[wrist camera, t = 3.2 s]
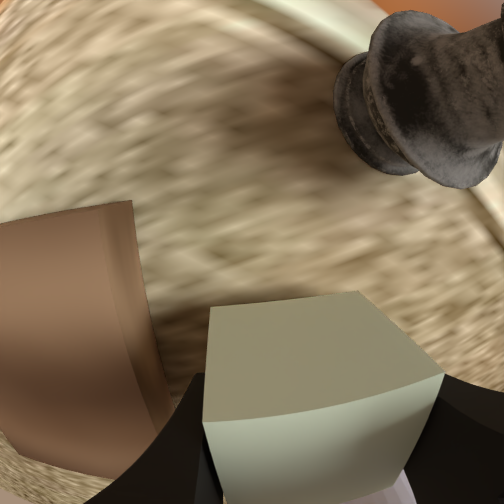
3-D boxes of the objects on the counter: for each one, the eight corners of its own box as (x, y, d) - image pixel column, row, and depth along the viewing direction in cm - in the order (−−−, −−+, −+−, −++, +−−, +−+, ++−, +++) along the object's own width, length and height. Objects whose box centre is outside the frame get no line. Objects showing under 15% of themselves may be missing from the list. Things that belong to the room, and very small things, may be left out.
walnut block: (186, 441, 13) (182, 485, 10) (36, 423, 12) (19, 454, 9) (131, 200, 10) (97, 209, 7) (-36, 232, 9) (-75, 246, 6)
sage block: (345, 397, 11) (392, 486, 6) (227, 415, 10) (233, 520, 6) (358, 290, 10) (445, 371, 5) (210, 307, 9) (201, 422, 4)
